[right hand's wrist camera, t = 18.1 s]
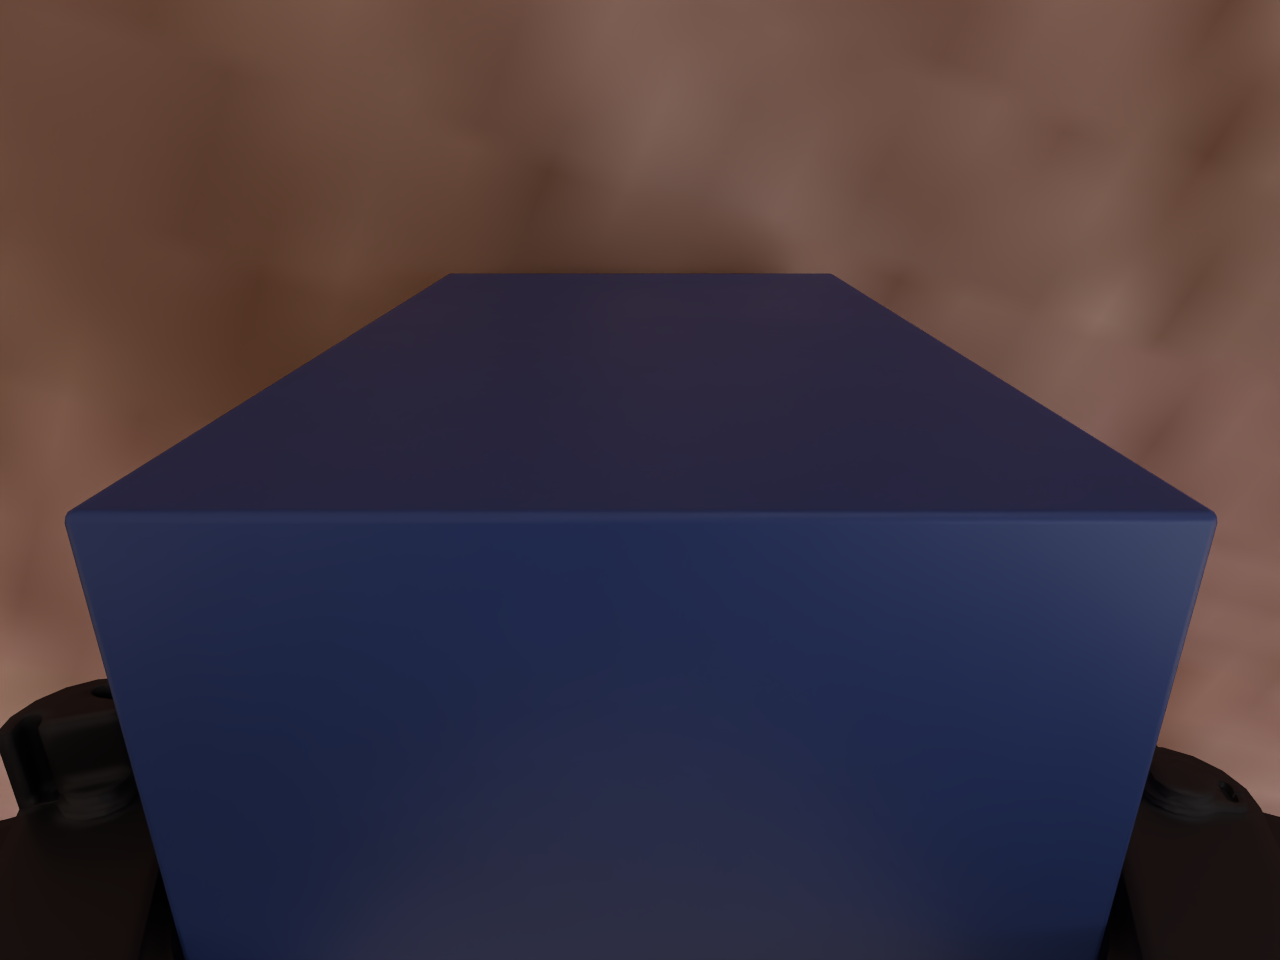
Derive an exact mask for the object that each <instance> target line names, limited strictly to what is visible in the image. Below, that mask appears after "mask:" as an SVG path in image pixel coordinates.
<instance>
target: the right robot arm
mask: <svg viewBox="0 0 1280 960" xmlns="http://www.w3.org/2000/svg"><path fill="white" fill-rule="evenodd" d="M0 754H1V757H2V760H3V763H4V766H5V769H6V771H7V774H8V777H9V780H10V783H11V786H12V789H13V792H14V795H15V798H16V801H17V804H18V806H19V812H18V814H17V816H16V817H13V818H9V819H6V820H1V821H0V960H185V959H184V955H183V952H182V948H181V944H180V941H179V937H178V934H177V930H176V926H175V923H174V919H173V915H172V912H171V908H170V904H169V901H168V897H167V893H166V890H165V886H164V883H163V879H162V875H161V872H160V868H159V864H158V861H157V857H156V853H155V850H154V846H153V843H152V839H151V835H150V832H149V828H148V824H147V821H146V817H145V813H144V810H143V806H142V802H141V799H140V795H139V792H138V788H137V784H136V781H135V777H134V773H133V770H132V766H131V762H130V759H129V755H128V752H127V748H126V744H125V741H124V737H123V733H122V730H121V726H120V722H119V719H118V715H117V712H116V708H115V704H114V701H113V697H112V693H111V690H110V686H109V682H108V679H98V680H94V681H90V682H86V683H82V684H78V685H74V686H71V687H67V688H64V689H62V690H60V691H57V692H55V693H53V694H50V695H48V696H46V697H43V698H41V699H39V700H36V701H35V702H33V703H32V704H30V705H28V706H27V707H25V708H24V709H22V710H21V711H19V712H18V713H16V714H15V715H13V716H12V717H10V718H9V719H8V721H7V722H6V723H5V724H4V725H3V726H2V727H1V728H0ZM1097 960H1280V817H1278V816H1274V815H1270V814H1267V813H1263V812H1262V810H1261V808H1260V807H1259V805H1258V804H1257V803H1256V801H1255V800H1254V799H1253V797H1252V796H1251V795H1250V793H1249V792H1248V791H1247V789H1246V788H1244V787H1243V786H1242V785H1240V784H1239V783H1238V782H1237V781H1235V780H1234V779H1233V778H1231V777H1230V776H1229V775H1227V774H1226V773H1225V772H1223V771H1222V770H1220V769H1218V768H1216V767H1214V766H1212V765H1210V764H1208V763H1206V762H1204V761H1202V760H1200V759H1198V758H1196V757H1194V756H1190V755H1187V754H1184V753H1180V752H1177V751H1173V750H1170V749H1167V748H1163V747H1157V745H1156V747H1155V751H1154V754H1153V758H1152V762H1151V765H1150V769H1149V772H1148V776H1147V780H1146V783H1145V787H1144V791H1143V794H1142V798H1141V801H1140V805H1139V809H1138V812H1137V816H1136V820H1135V823H1134V827H1133V830H1132V834H1131V838H1130V841H1129V845H1128V849H1127V852H1126V856H1125V860H1124V863H1123V867H1122V870H1121V874H1120V878H1119V881H1118V885H1117V889H1116V892H1115V896H1114V899H1113V903H1112V907H1111V910H1110V914H1109V918H1108V921H1107V925H1106V928H1105V932H1104V936H1103V939H1102V943H1101V947H1100V950H1099V954H1098V957H1097Z"/></svg>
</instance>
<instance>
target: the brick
mask: <svg viewBox="0 0 1280 960" xmlns="http://www.w3.org/2000/svg"><path fill="white" fill-rule="evenodd" d="M65 526H66V530H67V533H68V537H69V540H70V544H71V548H72V551H73V555H74V559H75V562H76V566H77V570H78V573H79V577H80V581H81V584H82V588H83V591H84V595H85V599H86V602H87V606H88V610H89V613H90V617H91V621H92V624H93V628H94V631H95V635H96V639H97V642H98V646H99V650H100V653H101V657H102V661H103V664H104V668H105V671H106V675H107V679H108V682H109V686H110V690H111V693H112V697H113V701H114V704H115V708H116V712H117V715H118V719H119V722H120V726H121V730H122V733H123V737H124V741H125V744H126V748H127V752H128V755H129V759H130V762H131V766H132V770H133V773H134V777H135V781H136V784H137V788H138V792H139V795H140V799H141V802H142V806H143V810H144V813H145V817H146V821H147V824H148V828H149V832H150V835H151V839H152V843H153V846H154V850H155V853H156V857H157V861H158V864H159V868H160V872H161V875H162V879H163V883H164V886H165V890H166V893H167V897H168V901H169V904H170V908H171V912H172V915H173V919H174V923H175V926H176V930H177V934H178V937H179V941H180V944H181V948H182V952H183V955H184V959H185V960H1097V957H1098V954H1099V950H1100V947H1101V943H1102V939H1103V936H1104V932H1105V928H1106V925H1107V921H1108V918H1109V914H1110V910H1111V907H1112V903H1113V899H1114V896H1115V892H1116V889H1117V885H1118V881H1119V878H1120V874H1121V870H1122V867H1123V863H1124V860H1125V856H1126V852H1127V849H1128V845H1129V841H1130V838H1131V834H1132V830H1133V827H1134V823H1135V820H1136V816H1137V812H1138V809H1139V805H1140V801H1141V798H1142V794H1143V791H1144V787H1145V783H1146V780H1147V776H1148V772H1149V769H1150V765H1151V762H1152V758H1153V754H1154V751H1155V747H1156V743H1157V740H1158V736H1159V733H1160V729H1161V725H1162V722H1163V718H1164V714H1165V711H1166V707H1167V704H1168V700H1169V696H1170V693H1171V689H1172V685H1173V682H1174V678H1175V675H1176V671H1177V667H1178V664H1179V660H1180V656H1181V653H1182V649H1183V646H1184V642H1185V638H1186V635H1187V631H1188V627H1189V624H1190V620H1191V617H1192V613H1193V609H1194V606H1195V602H1196V598H1197V595H1198V591H1199V587H1200V584H1201V580H1202V577H1203V573H1204V569H1205V566H1206V562H1207V558H1208V555H1209V551H1210V548H1211V544H1212V540H1213V537H1214V533H1215V529H1216V526H1217V517H1216V515H1215V513H1214V512H1213V511H1212V510H1210V509H1208V508H1207V507H1205V506H1204V505H1202V504H1200V503H1199V502H1197V501H1196V500H1194V499H1192V498H1191V497H1189V496H1188V495H1186V494H1184V493H1183V492H1181V491H1180V490H1178V489H1176V488H1175V487H1173V486H1171V485H1170V484H1168V483H1167V482H1165V481H1163V480H1162V479H1160V478H1159V477H1157V476H1155V475H1154V474H1152V473H1151V472H1149V471H1147V470H1146V469H1144V468H1143V467H1141V466H1139V465H1138V464H1136V463H1135V462H1133V461H1131V460H1130V459H1128V458H1126V457H1125V456H1123V455H1122V454H1120V453H1118V452H1117V451H1115V450H1114V449H1112V448H1110V447H1109V446H1107V445H1106V444H1104V443H1102V442H1101V441H1099V440H1098V439H1096V438H1094V437H1093V436H1091V435H1089V434H1088V433H1086V432H1085V431H1083V430H1081V429H1080V428H1078V427H1077V426H1075V425H1073V424H1072V423H1070V422H1069V421H1067V420H1065V419H1064V418H1062V417H1061V416H1059V415H1057V414H1056V413H1054V412H1053V411H1051V410H1049V409H1048V408H1046V407H1044V406H1043V405H1041V404H1040V403H1038V402H1036V401H1035V400H1033V399H1032V398H1030V397H1028V396H1027V395H1025V394H1024V393H1022V392H1020V391H1019V390H1017V389H1016V388H1014V387H1012V386H1011V385H1009V384H1008V383H1006V382H1004V381H1003V380H1001V379H999V378H998V377H996V376H995V375H993V374H991V373H990V372H988V371H987V370H985V369H983V368H982V367H980V366H979V365H977V364H975V363H974V362H972V361H971V360H969V359H967V358H966V357H964V356H963V355H961V354H959V353H958V352H956V351H954V350H953V349H951V348H950V347H948V346H946V345H945V344H943V343H942V342H940V341H938V340H937V339H935V338H934V337H932V336H930V335H929V334H927V333H926V332H924V331H922V330H921V329H919V328H918V327H916V326H914V325H913V324H911V323H909V322H908V321H906V320H905V319H903V318H901V317H900V316H898V315H897V314H895V313H893V312H892V311H890V310H889V309H887V308H885V307H884V306H882V305H881V304H879V303H877V302H876V301H874V300H873V299H871V298H869V297H868V296H866V295H864V294H863V293H861V292H860V291H858V290H856V289H855V288H853V287H852V286H850V285H848V284H847V283H845V282H844V281H842V280H840V279H839V278H837V277H836V276H834V275H832V274H449V275H447V276H445V277H444V278H442V279H440V280H439V281H437V282H436V283H434V284H432V285H431V286H429V287H428V288H426V289H424V290H423V291H421V292H420V293H418V294H416V295H415V296H413V297H412V298H410V299H408V300H407V301H405V302H404V303H402V304H400V305H399V306H397V307H396V308H394V309H392V310H391V311H389V312H388V313H386V314H384V315H383V316H381V317H380V318H378V319H376V320H375V321H373V322H372V323H370V324H368V325H367V326H365V327H363V328H362V329H360V330H359V331H357V332H355V333H354V334H352V335H351V336H349V337H347V338H346V339H344V340H343V341H341V342H339V343H338V344H336V345H335V346H333V347H331V348H330V349H328V350H327V351H325V352H323V353H322V354H320V355H319V356H317V357H315V358H314V359H312V360H311V361H309V362H307V363H306V364H304V365H303V366H301V367H299V368H298V369H296V370H295V371H293V372H291V373H290V374H288V375H287V376H285V377H283V378H282V379H280V380H279V381H277V382H275V383H274V384H272V385H271V386H269V387H267V388H266V389H264V390H263V391H261V392H259V393H258V394H256V395H255V396H253V397H251V398H250V399H248V400H247V401H245V402H243V403H242V404H240V405H238V406H237V407H235V408H234V409H232V410H230V411H229V412H227V413H226V414H224V415H222V416H221V417H219V418H218V419H216V420H214V421H213V422H211V423H210V424H208V425H206V426H205V427H203V428H202V429H200V430H198V431H197V432H195V433H194V434H192V435H190V436H189V437H187V438H186V439H184V440H182V441H181V442H179V443H178V444H176V445H174V446H173V447H171V448H170V449H168V450H166V451H165V452H163V453H162V454H160V455H158V456H157V457H155V458H154V459H152V460H150V461H149V462H147V463H146V464H144V465H142V466H141V467H139V468H138V469H136V470H134V471H133V472H131V473H130V474H128V475H126V476H125V477H123V478H122V479H120V480H118V481H117V482H115V483H113V484H112V485H110V486H109V487H107V488H105V489H104V490H102V491H101V492H99V493H97V494H96V495H94V496H93V497H91V498H89V499H88V500H86V501H85V502H83V503H81V504H80V505H78V506H77V507H75V508H73V509H72V510H70V511H69V512H68V513H67V514H66V516H65Z"/></svg>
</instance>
